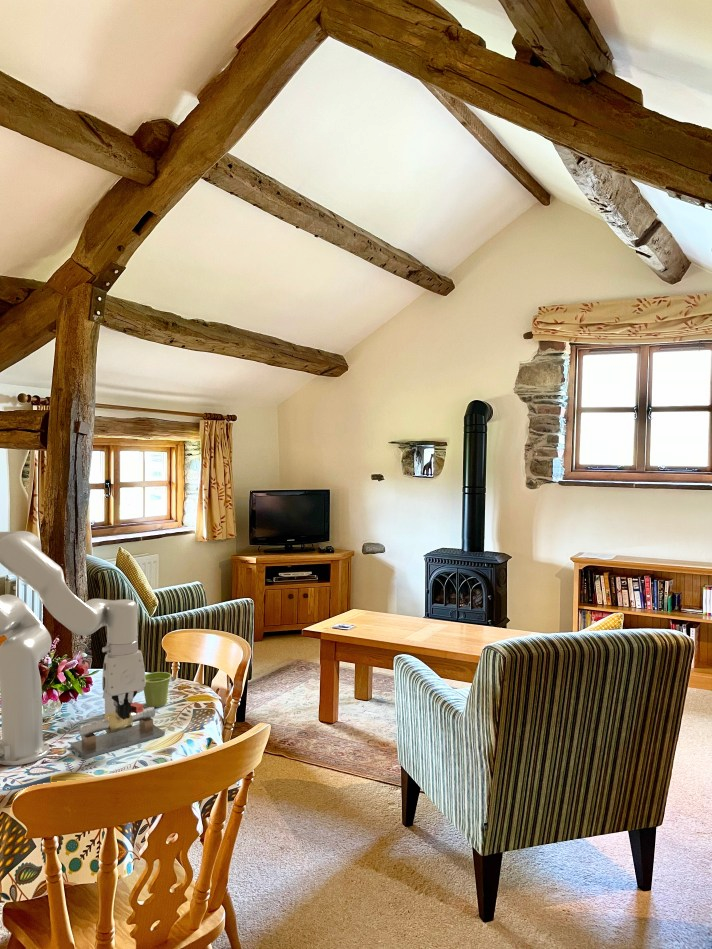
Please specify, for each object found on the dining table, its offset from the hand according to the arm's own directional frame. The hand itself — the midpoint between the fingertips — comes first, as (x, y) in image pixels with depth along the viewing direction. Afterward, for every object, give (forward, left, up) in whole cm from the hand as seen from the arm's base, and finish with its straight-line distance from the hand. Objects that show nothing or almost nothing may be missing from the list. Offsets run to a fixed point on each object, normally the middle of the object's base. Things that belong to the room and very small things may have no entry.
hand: (124, 717), depth 184 cm
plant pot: (+21, +26, -9) cm, 35 cm away
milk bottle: (+9, +26, -9) cm, 29 cm away
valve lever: (+2, +3, +1) cm, 4 cm away
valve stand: (+1, +7, -9) cm, 12 cm away
